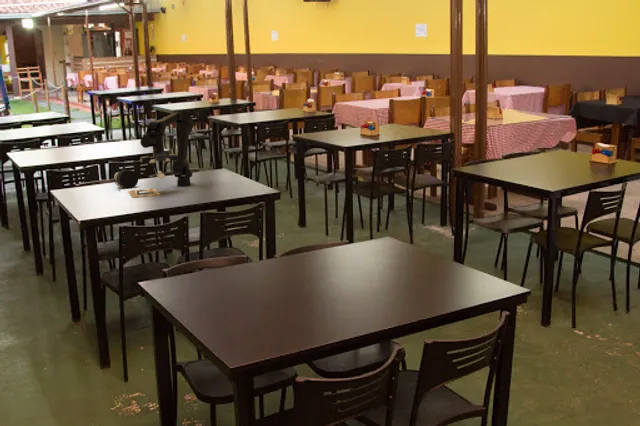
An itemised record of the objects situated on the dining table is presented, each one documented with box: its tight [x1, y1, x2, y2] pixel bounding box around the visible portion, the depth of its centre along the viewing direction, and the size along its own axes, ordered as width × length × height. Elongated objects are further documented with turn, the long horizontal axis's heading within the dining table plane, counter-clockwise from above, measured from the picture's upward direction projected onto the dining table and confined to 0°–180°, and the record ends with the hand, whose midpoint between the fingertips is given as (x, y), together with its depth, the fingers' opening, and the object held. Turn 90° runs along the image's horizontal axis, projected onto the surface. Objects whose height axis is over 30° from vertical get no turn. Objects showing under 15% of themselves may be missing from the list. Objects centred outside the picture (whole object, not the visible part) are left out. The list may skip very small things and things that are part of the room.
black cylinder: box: [113, 169, 139, 189], centre depth 399 cm, size 10×34×10 cm, turn 24°
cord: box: [155, 170, 165, 180], centre depth 367 cm, size 3×7×3 cm
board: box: [127, 187, 161, 199], centre depth 367 cm, size 14×18×4 cm
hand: (160, 174), depth 366 cm, fingers closed on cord, 3 cm apart
